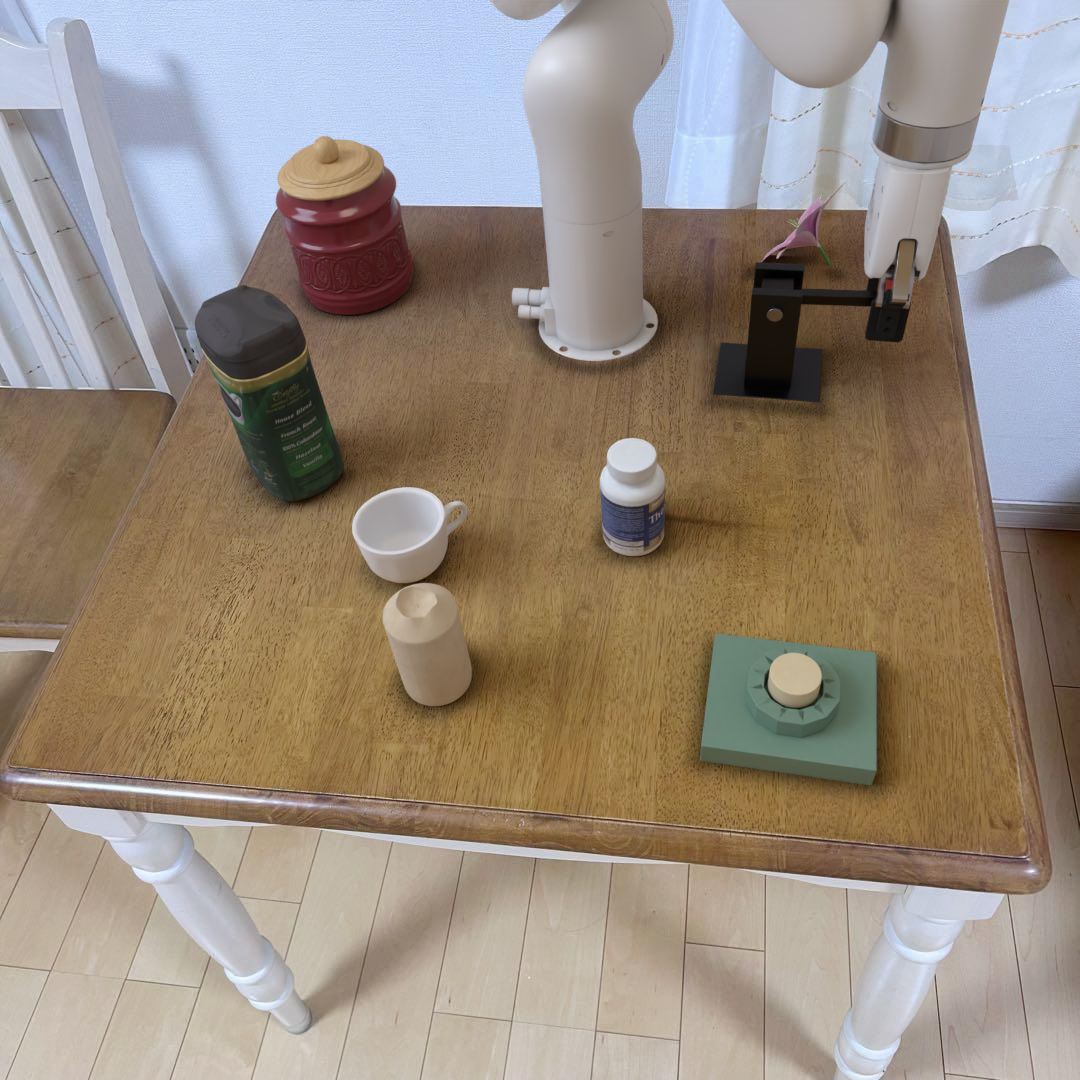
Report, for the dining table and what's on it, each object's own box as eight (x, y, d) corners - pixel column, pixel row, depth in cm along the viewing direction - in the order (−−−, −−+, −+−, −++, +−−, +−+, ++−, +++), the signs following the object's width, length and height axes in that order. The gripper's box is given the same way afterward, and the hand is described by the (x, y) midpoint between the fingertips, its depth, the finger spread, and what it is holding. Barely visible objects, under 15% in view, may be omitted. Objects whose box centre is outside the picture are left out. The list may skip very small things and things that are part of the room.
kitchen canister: (390, 323, 112) (355, 175, 99) (285, 311, 115) (237, 166, 102) (431, 257, 120) (403, 111, 107) (331, 247, 123) (293, 104, 110)
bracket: (820, 358, 102) (836, 256, 94) (818, 411, 97) (834, 308, 88) (720, 351, 104) (726, 251, 96) (712, 403, 99) (718, 302, 90)
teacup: (385, 610, 86) (372, 569, 82) (352, 551, 90) (338, 510, 86) (491, 560, 88) (483, 518, 84) (453, 506, 93) (444, 464, 89)
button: (766, 704, 72) (768, 691, 71) (769, 663, 75) (771, 649, 73) (818, 711, 72) (821, 698, 70) (819, 669, 74) (822, 655, 73)
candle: (483, 657, 82) (465, 578, 74) (457, 714, 78) (436, 638, 71) (420, 642, 83) (397, 563, 76) (392, 697, 80) (365, 621, 72)
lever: (897, 294, 94) (901, 271, 92) (897, 327, 90) (902, 305, 89) (762, 290, 96) (763, 268, 94) (758, 322, 93) (759, 300, 91)
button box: (699, 761, 74) (701, 732, 71) (713, 649, 80) (716, 618, 77) (871, 786, 72) (881, 757, 69) (872, 668, 78) (880, 637, 75)
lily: (831, 236, 118) (797, 164, 113) (900, 245, 108) (866, 167, 103) (754, 301, 117) (716, 231, 112) (816, 317, 107) (777, 241, 102)
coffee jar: (359, 476, 97) (310, 314, 83) (285, 516, 94) (222, 356, 80) (310, 424, 102) (257, 265, 88) (239, 462, 99) (173, 303, 85)
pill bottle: (660, 561, 87) (661, 481, 79) (598, 555, 88) (593, 475, 80) (668, 515, 90) (669, 434, 83) (608, 509, 91) (604, 429, 84)
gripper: (874, 76, 85) (842, 263, 99) (874, 183, 75) (838, 376, 88) (969, 78, 84) (923, 267, 98) (982, 187, 73) (929, 383, 87)
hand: (883, 317), depth 93 cm, fingers closed on lever, 5 cm apart
